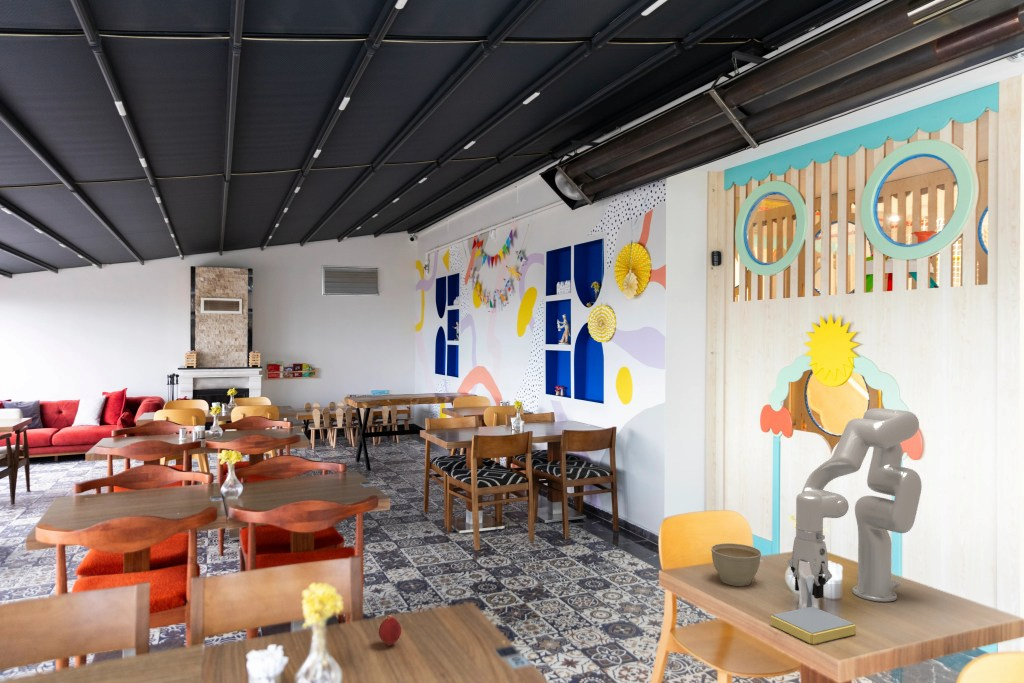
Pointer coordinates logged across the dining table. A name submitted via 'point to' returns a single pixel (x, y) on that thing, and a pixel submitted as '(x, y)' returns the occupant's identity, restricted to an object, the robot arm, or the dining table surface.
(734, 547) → the planter bowl
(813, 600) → the beer glass
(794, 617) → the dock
